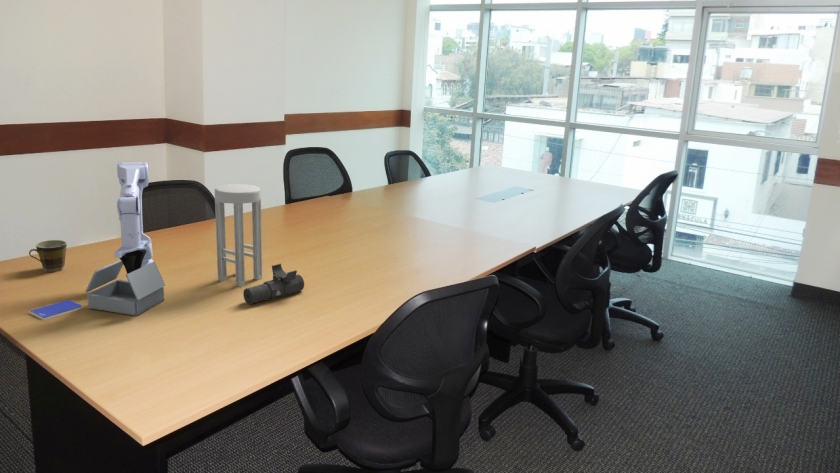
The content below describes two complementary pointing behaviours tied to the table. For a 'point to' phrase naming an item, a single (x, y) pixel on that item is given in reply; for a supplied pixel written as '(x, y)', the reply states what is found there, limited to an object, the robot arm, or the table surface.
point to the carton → (123, 299)
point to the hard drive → (55, 309)
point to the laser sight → (275, 286)
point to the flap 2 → (145, 280)
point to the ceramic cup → (51, 254)
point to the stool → (238, 230)
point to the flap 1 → (104, 275)
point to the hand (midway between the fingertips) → (133, 272)
